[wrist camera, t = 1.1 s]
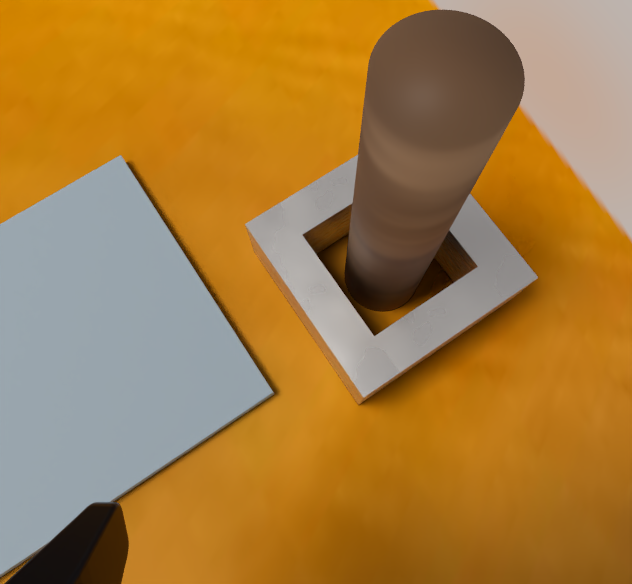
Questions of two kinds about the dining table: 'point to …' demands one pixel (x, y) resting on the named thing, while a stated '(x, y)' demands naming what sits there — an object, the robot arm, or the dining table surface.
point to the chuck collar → (338, 313)
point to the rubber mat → (103, 356)
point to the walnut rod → (424, 144)
